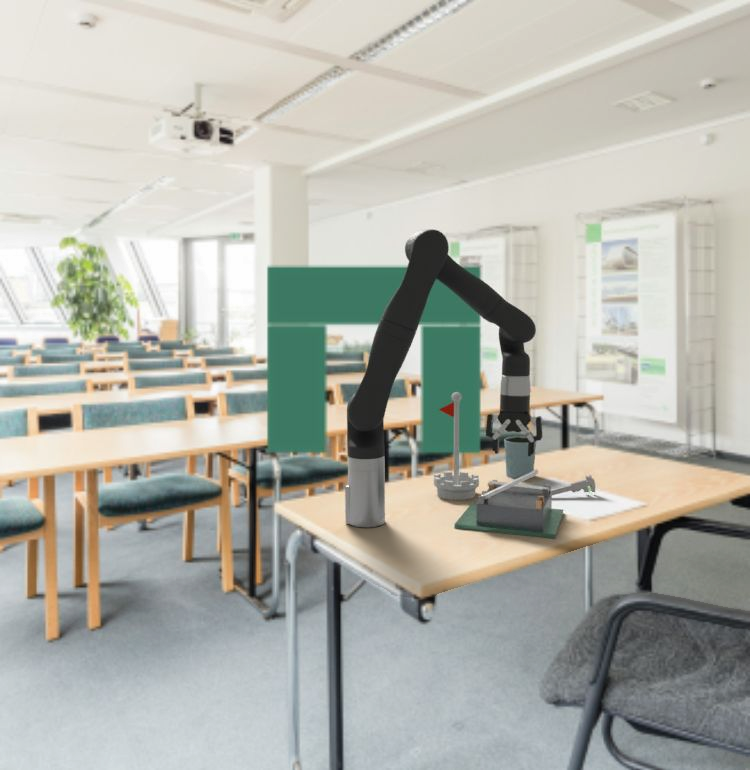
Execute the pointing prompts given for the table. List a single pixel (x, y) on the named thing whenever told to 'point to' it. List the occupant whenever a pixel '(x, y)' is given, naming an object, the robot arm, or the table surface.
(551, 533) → the base
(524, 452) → the blue-grey cup
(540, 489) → the far strap
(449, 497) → the flag stand
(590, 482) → the caliper
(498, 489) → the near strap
